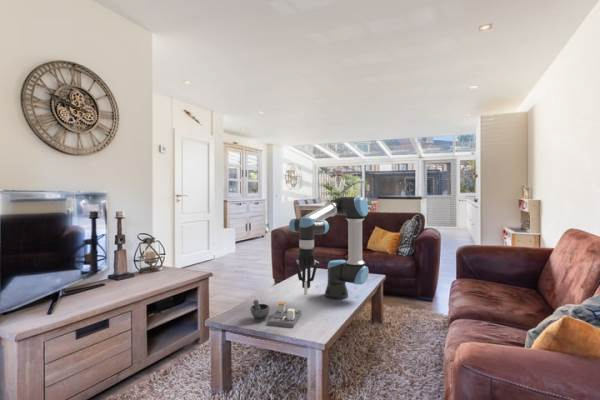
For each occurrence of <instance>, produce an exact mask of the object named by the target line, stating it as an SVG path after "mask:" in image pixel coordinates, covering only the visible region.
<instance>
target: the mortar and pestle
mask: <svg viewBox="0 0 600 400" xmlns="http://www.w3.org/2000/svg"><path fill="white" fill-rule="evenodd" d="M259 301H260V300H259V299H254V300H253V301H252V303H253V304H252V305H251V306H250V313H251V315H252V316H253V320H254V322H255V323H264V322H265V321H267V319H266V318H267V316H268V315H269V314H270V305H269V304H265V303H259Z"/></svg>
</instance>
